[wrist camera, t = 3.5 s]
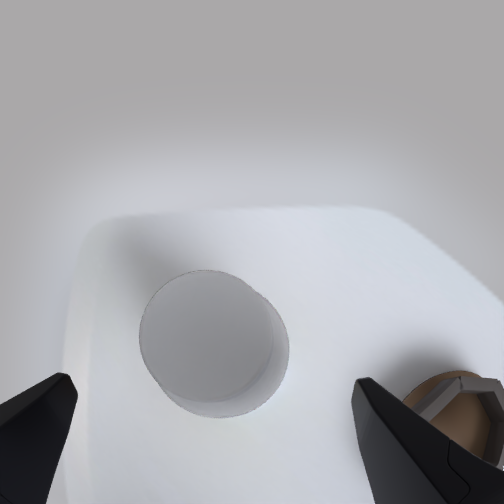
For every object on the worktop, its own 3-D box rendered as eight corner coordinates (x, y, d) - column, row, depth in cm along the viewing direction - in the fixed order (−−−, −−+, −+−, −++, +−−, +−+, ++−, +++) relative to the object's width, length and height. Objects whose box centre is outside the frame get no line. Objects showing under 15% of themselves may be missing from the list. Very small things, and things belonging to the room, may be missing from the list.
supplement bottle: (201, 314, 18) (146, 236, 10) (288, 330, 18) (309, 261, 9) (181, 397, 16) (98, 393, 7) (272, 417, 15) (278, 444, 7)
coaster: (414, 533, 10) (430, 546, 8) (350, 437, 14) (363, 443, 12) (511, 438, 12) (533, 438, 10) (462, 343, 16) (483, 334, 14)
